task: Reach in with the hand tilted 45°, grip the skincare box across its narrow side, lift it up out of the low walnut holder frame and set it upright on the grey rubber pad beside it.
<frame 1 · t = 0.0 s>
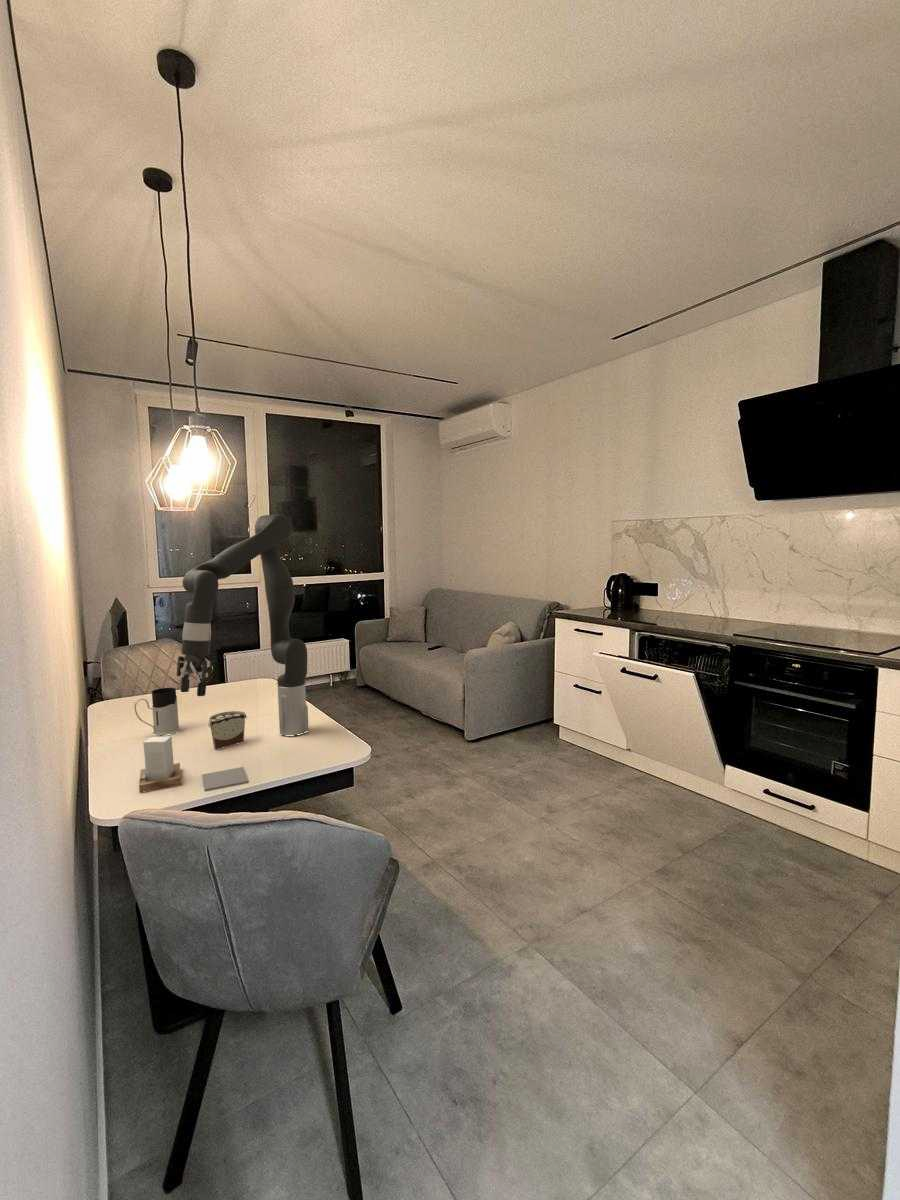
hand: (192, 693, 161), 22 cm above the table, tool pointing down, fingers open, 8 cm apart
rubber pad: (224, 779, 155), on the table
food container: (226, 744, 183), on the table
skincare box: (160, 781, 155), resting in walnut holder
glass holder: (158, 734, 193), on the table
walnut holder: (160, 780, 155), on the table
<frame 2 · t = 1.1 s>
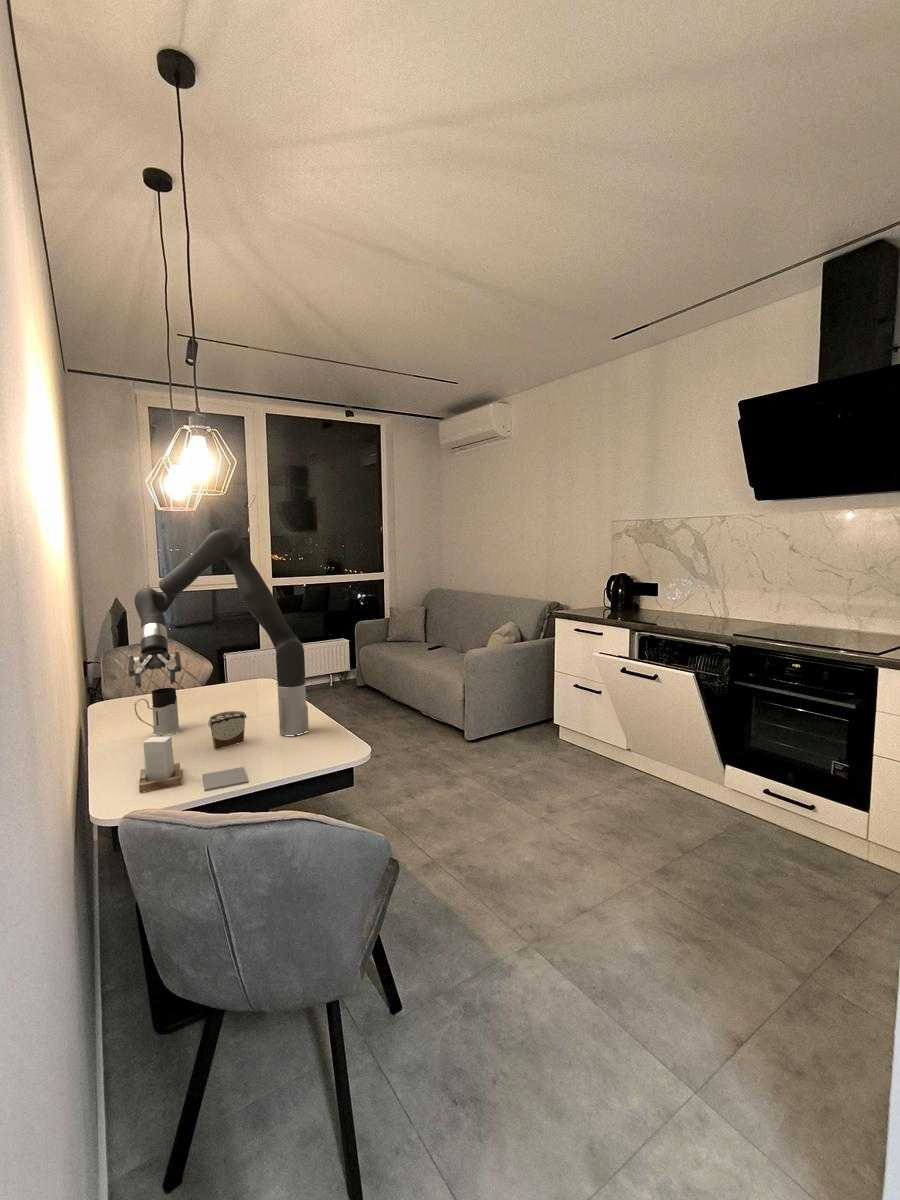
hand: (155, 684, 166), 24 cm above the table, tool tilted 45°, fingers open, 8 cm apart
nothing on the table moved.
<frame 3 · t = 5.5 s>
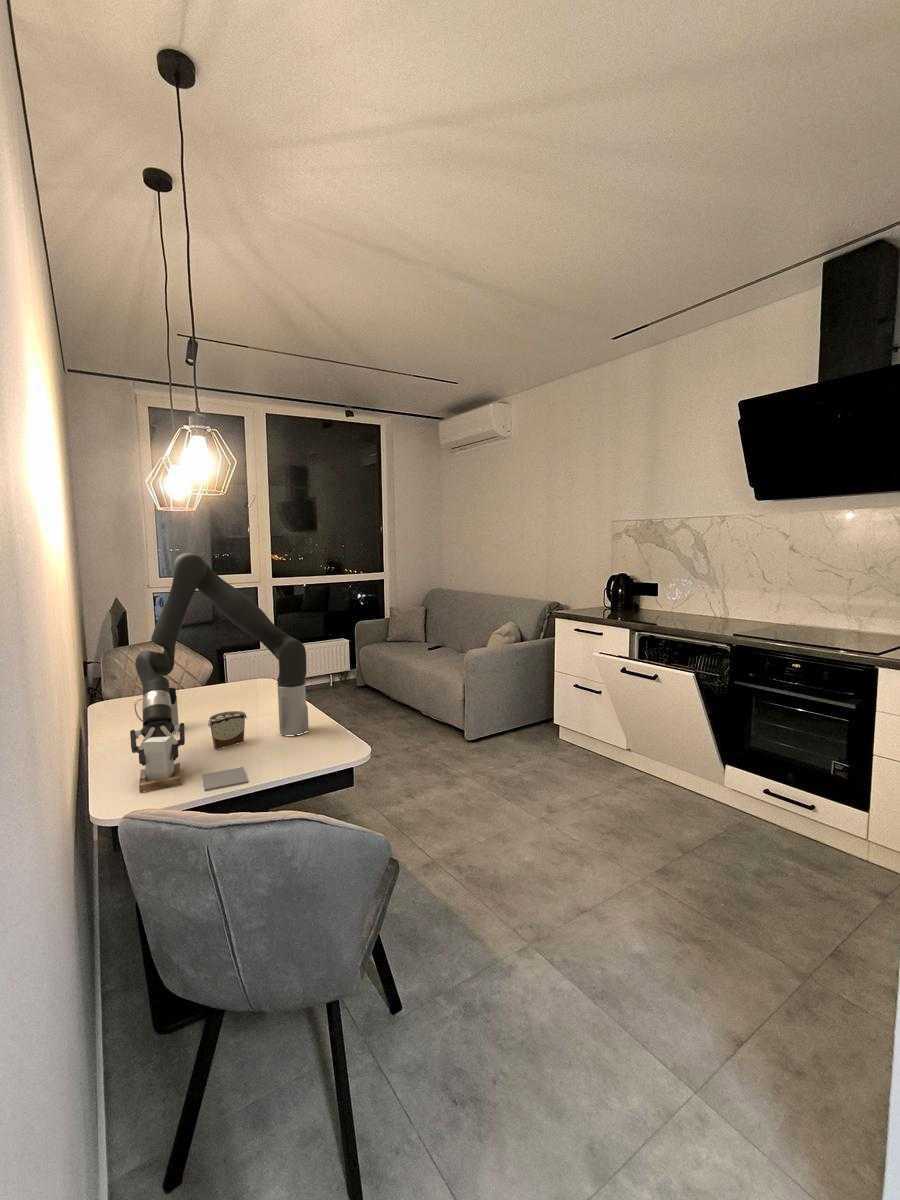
hand: (159, 761, 153), 6 cm above the table, tool tilted 45°, fingers closed on skincare box, 7 cm apart
skincare box: (160, 781, 155), resting in walnut holder, touching gripper
everything else where it was.
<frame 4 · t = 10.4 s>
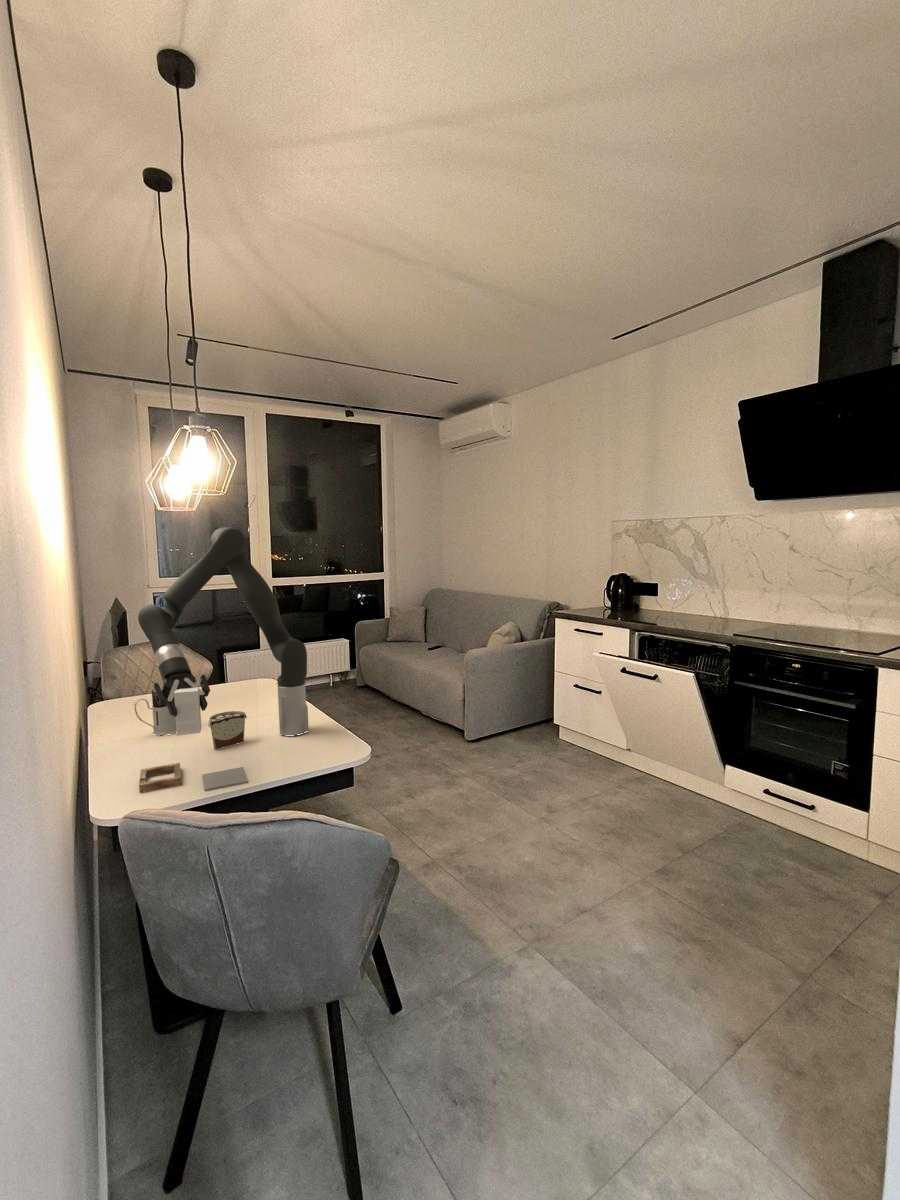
hand: (190, 712, 151), 20 cm above the table, tool tilted 45°, fingers closed on skincare box, 7 cm apart
skincare box: (189, 732, 152), point 14 cm above the table, touching gripper
everything else where it was.
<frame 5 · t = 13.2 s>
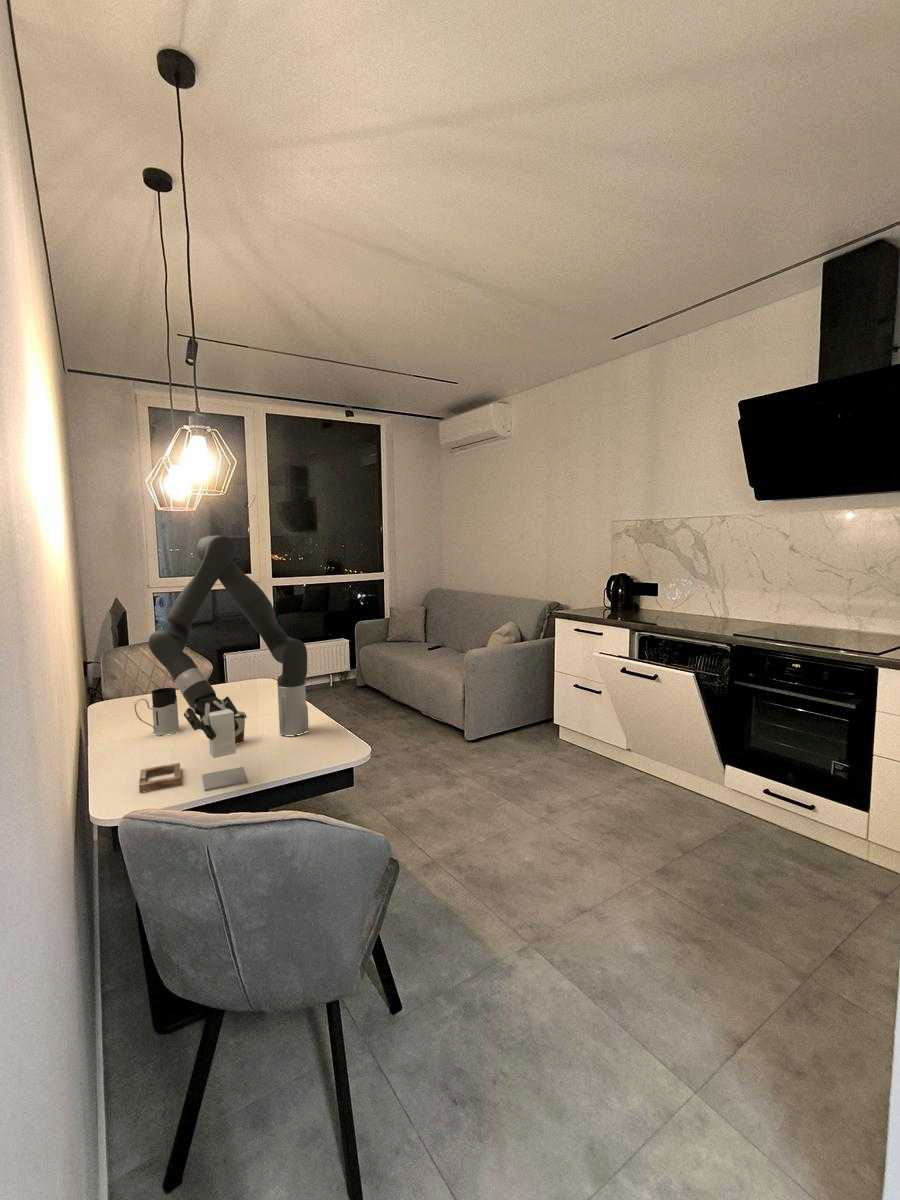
hand: (225, 733, 153), 13 cm above the table, tool tilted 45°, fingers closed on skincare box, 7 cm apart
skincare box: (222, 754, 154), point 7 cm above the table, touching gripper
everything else where it was.
when the fingers open (8 cm above the table, at t = 15.5 s): skincare box drops 1 cm, resting on rubber pad.
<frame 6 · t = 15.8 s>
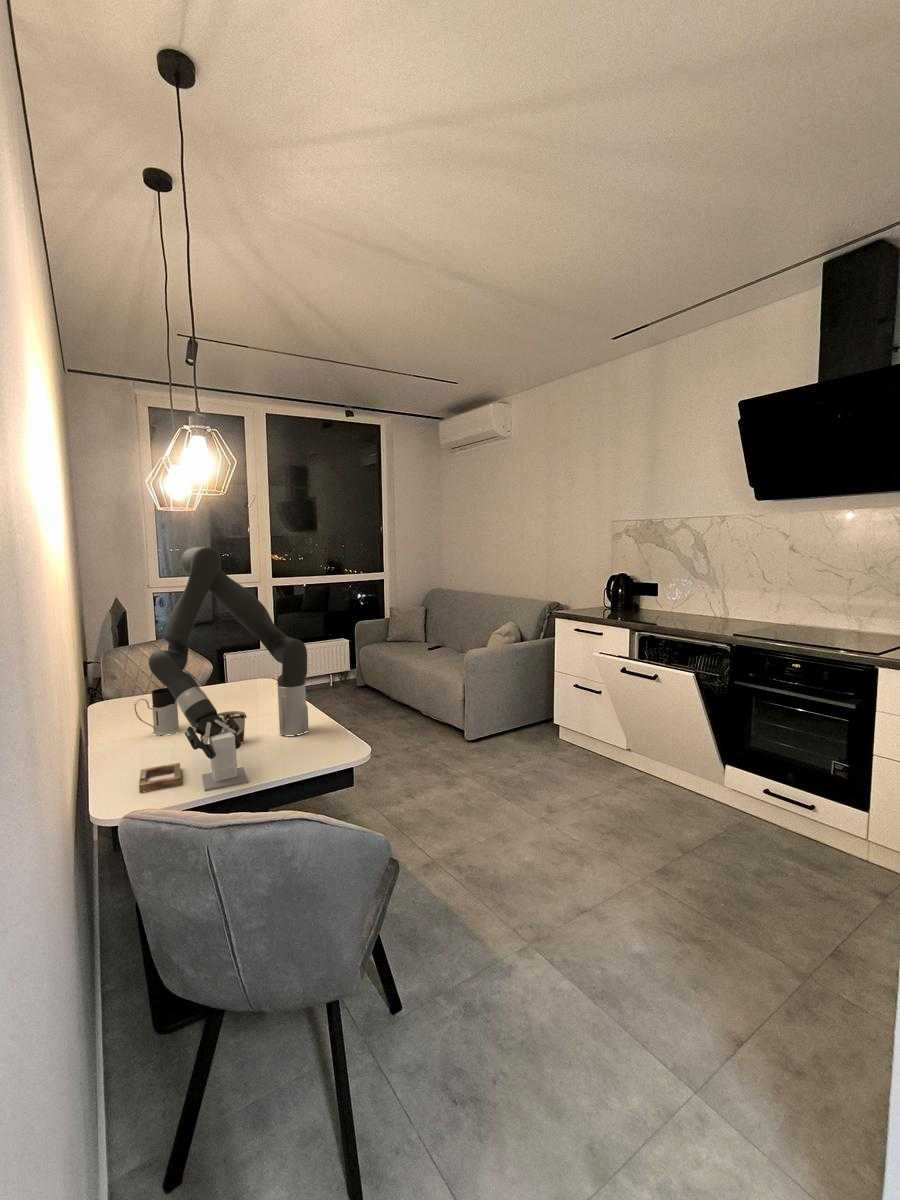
hand: (226, 752, 153), 8 cm above the table, tool tilted 45°, fingers open, 8 cm apart
skincare box: (224, 777, 155), resting on rubber pad
everything else where it was.
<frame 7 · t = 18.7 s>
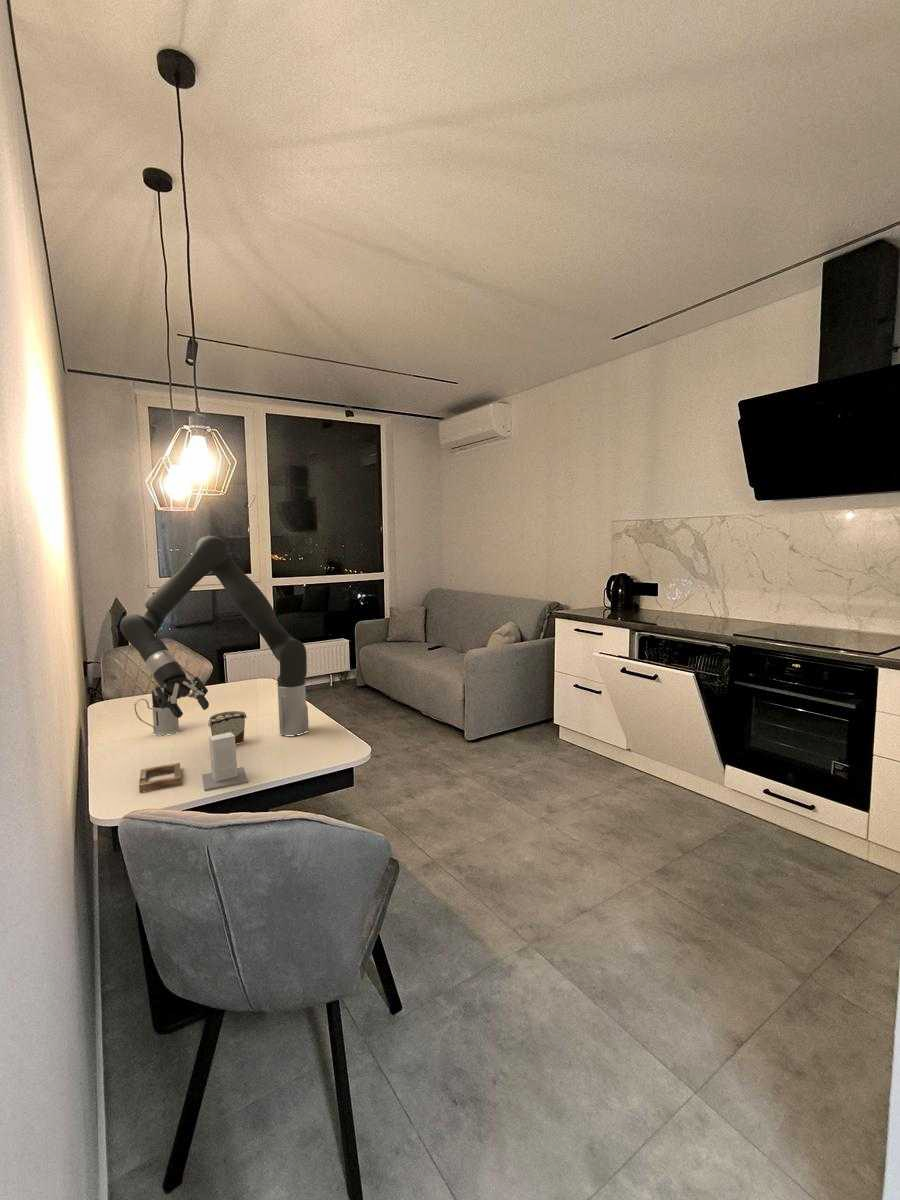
hand: (194, 712, 158), 18 cm above the table, tool tilted 45°, fingers open, 8 cm apart
nothing on the table moved.
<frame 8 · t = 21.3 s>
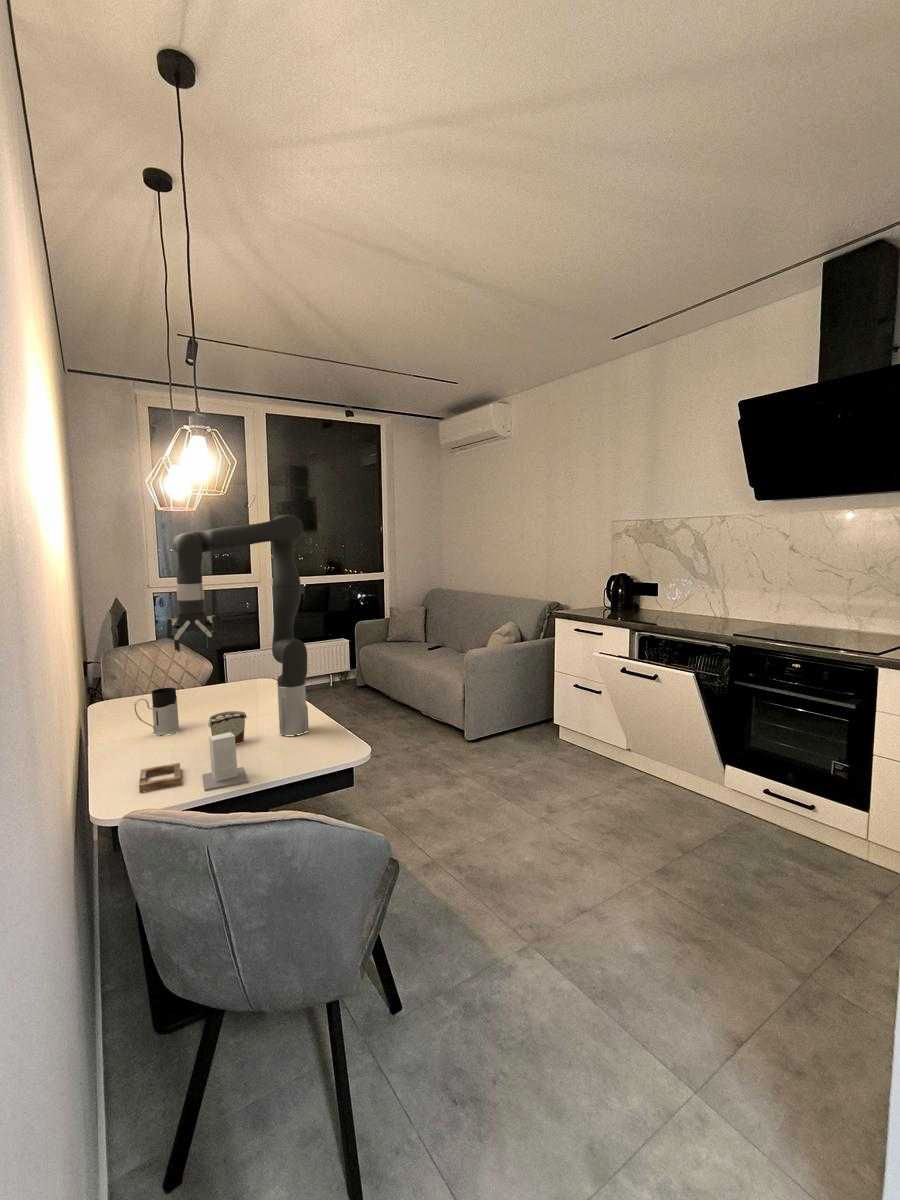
hand: (194, 650, 171), 33 cm above the table, tool pointing down, fingers open, 8 cm apart
nothing on the table moved.
at the end: skincare box inside the target area on the rubber pad (0.3 cm from its centre), point 0.3 cm above the rubber pad's base; skincare box tilted 0°; the gripper is holding nothing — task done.
